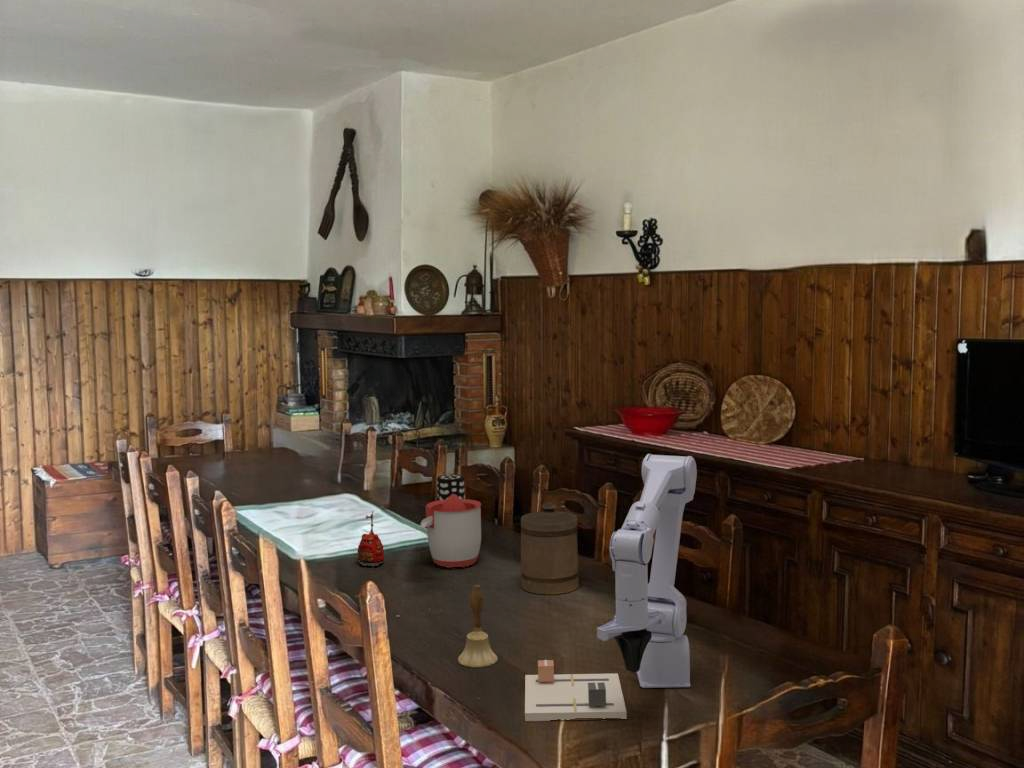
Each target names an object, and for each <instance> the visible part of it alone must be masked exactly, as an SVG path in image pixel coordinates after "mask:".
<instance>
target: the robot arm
mask: <svg viewBox="0 0 1024 768" xmlns="http://www.w3.org/2000/svg"><path fill="white" fill-rule="evenodd" d="M697 475H698V470H697V463H696V460H695V458H694V457H693V456H691V455H687V456H684V455H683V456H681V455H667V454H666V455H663V454H652V453H647V454H646V455H645V457H644V458H643V460H642V462H641V478H642V481H643V485H644V486H643V489H642V492H641V496H640V499H639V500H638V501H635V502H634V503H632V505H631V506H630V508H629V511H628V513H627V515H626V517H625V519H624V522H623V524H622V525H621V528H619V529H617V531H613V532H612V535H611V537H610V541H609V555H610V560H611V567H612V568H611V569H612V571H613V572H615V573H614V576H615V577H614V578H615V580H614V581H615V584H614V585H615V587H614V588H615V615H614V617H613V619H612V620H611V621H609V622H607V623H605V624H603V625H601V626H598V627H596V638H597V639H598V640H601V641H603V642H606V641H609V639H611V638H613V639H614V640H615V641H616V643H617V646H618V647H619V649H620V651H621V654H622V657H623V660H624V666H625V670H626V671H628V672H631V673H636V675H637V679H638V683H639V686H640V688H641V687H642V689H653V688H654V689H655V688H691V661H690V660H691V659H690V657H691V655H690V654H691V653H690V642H689V638H688V636H687V634H684V633H685V630H686V626H687V600H686V598H685V596H684V595H683V594H682V593H681V591H679V590H678V589H677V588H676V587H675V581H676V572H677V565H678V556H679V548H680V539H681V530H682V522H683V515H684V511H685V506H686V504H687V503H690V502H692V501H693V500H694V495H695V493H696V492H695V491H696V484H697V483H696V482H697ZM654 535H655V538H654ZM651 558H652V562H651V567H650V576H649V575H648V573H649V572H648V569H649V568H648V564H649V562H650V560H651ZM648 576H649V579H648ZM648 581H649V582H648Z"/></svg>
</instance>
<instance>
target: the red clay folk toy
mask: <svg viewBox="0 0 1024 768" xmlns="http://www.w3.org/2000/svg"><path fill="white" fill-rule="evenodd" d="M365 519H366V520H368V519H370V521H371V524H370V527H371V528H370V532H369V533H363V534H362V535H361V539H360V541H359V544H358V549H357V554H358V557H357V559H358V561H359V560H360V562H363V563H380V562H382V561H383V562H384V561H385V550H384V546H383V543H382V540H381V538H380V537H379V535H378V534H375V533H374V530H373V527H374V522H373V521H374V510H372V511H371V514H370V516H369V515H365Z"/></svg>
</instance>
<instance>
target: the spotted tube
mask: <svg viewBox="0 0 1024 768" xmlns="http://www.w3.org/2000/svg"><path fill="white" fill-rule="evenodd" d="M436 485H437V486H436V488H437V489H436V490H437V491H436V492H437V493H436V495H437V501H439V500H446V499H448V498H449V497H450V496H451V495H452V494H455V495H456V496H457V497H458V498H459V499H466V492H465V476H464V475H462V474H444V475H443V474H442V475H438V476H436Z"/></svg>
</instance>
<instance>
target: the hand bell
mask: <svg viewBox="0 0 1024 768" xmlns="http://www.w3.org/2000/svg"><path fill="white" fill-rule="evenodd" d="M470 605H471V606H470V607H471V611H472V614H473V628H472V631H471V632H468V633H467V635H466V640H465V646H464V649H463V651H462V653H461V654H460V655H459V656H458V658H457V662H458V663H459V664H460V665H462V666H464V667H469V668H485V667H489V666H493V665H494V664H496V662H498V660H499V659H498V658H499V657H498V656H497V654H496V653H495V652H494V651H493V650H492V649H491V648H492V647H491V645H490V640H489V635H488V633H486V632H484V631H483V630H482V619H481V618H482V611H483V607H484V596H483V592H482V589H481V585H480V584H474V585H473V587H472V592H471V594H470ZM492 664H493V665H492Z"/></svg>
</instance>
